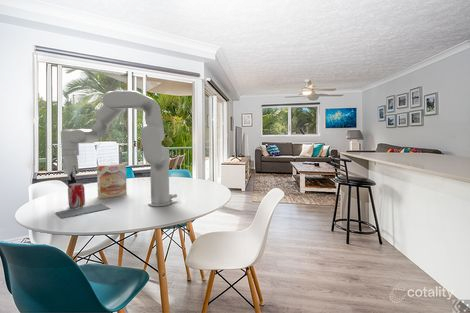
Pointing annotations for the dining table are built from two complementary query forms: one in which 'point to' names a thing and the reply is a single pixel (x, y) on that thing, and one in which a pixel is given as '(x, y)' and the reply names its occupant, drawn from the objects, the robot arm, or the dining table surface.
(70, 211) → the mat
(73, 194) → the soda can
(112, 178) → the coffeecake box
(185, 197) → the dining table surface
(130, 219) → the dining table surface
